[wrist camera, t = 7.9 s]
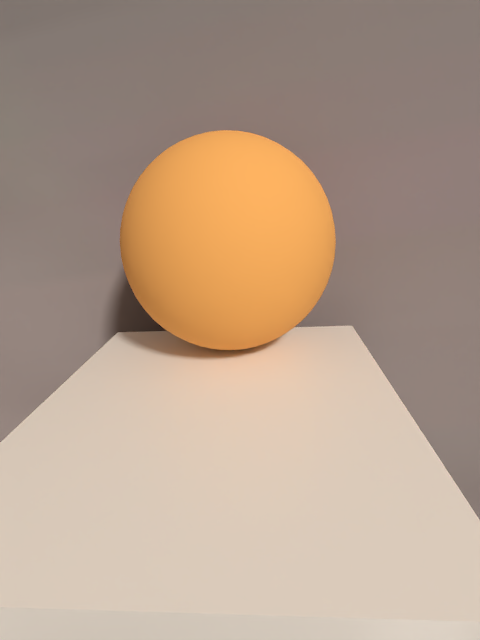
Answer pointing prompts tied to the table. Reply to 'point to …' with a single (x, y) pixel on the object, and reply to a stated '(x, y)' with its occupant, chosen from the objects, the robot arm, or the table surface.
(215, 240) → the ball
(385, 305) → the table surface
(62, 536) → the cream colored box
